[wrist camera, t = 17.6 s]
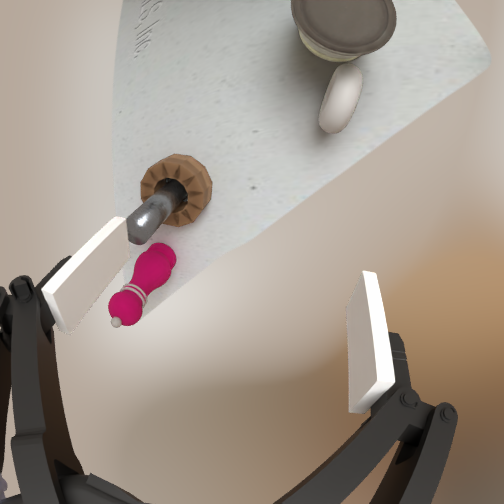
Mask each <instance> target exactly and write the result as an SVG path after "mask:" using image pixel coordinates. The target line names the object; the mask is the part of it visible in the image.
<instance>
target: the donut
mask: <svg viewBox="0 0 504 504" xmlns="http://www.w3.org/2000/svg"><path fill="white" fill-rule="evenodd" d="M362 84H363V78H362V73H361V71H360V70H359V69H358V68H357V67H356V66H355V65H353V64H350V63H344V64H341V65H340V66H339V67H338V68H337V69H336V70H335V72H334V74H333V76H332V78H331V80H330V83H329V85H328V88H327V90H326V93H325V96H324V99H323V102H322V105H321V109H320V113H319V119H318V120H319V125H320V127H321V128H322V129H323V130H324V131H326V132H328V133H332V134H335V133H339V132H341V131H342V130H343V129H344V128H345V127H346V125H347V124H348V122H349V121H350V119H351V117H352V115H353V113H354V110H355V108H356V106H357V103H358V100H359V97H360V93H361V90H362Z"/></svg>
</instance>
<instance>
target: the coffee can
mask: <svg viewBox="0 0 504 504" xmlns="http://www.w3.org/2000/svg"><path fill="white" fill-rule="evenodd" d="M291 10H292V15H293V18H294V21H295V23H296V25H297V27H298V31H299V35H300V38H301V40H302V42H303V43H304V45H305V46H306V47H307V48H308V50H310V51H311V52H312V53H313V54H314V55H316V56H318V57H320V58H322V59H325V60H328V61H332V62H345V61H350V60H353V59H355V58H357V57H359V56H361V55H365V54H369V53H372V52H374V51H376V50H378V49H380V48H381V47H383V46H384V45H385V44H386V43H387V42H388V41H389V40H390V38H391V37H392V35H393V33H394V30H395V27H396V11H395V7H394V4H393V2H392V0H291Z"/></svg>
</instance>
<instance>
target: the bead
mask: <svg viewBox="0 0 504 504" xmlns="http://www.w3.org/2000/svg"><path fill="white" fill-rule="evenodd" d="M166 178H173V179H176V180H177V181H179V182H180V183H181V184H183V185H184V187H185V189H186V191H187V193H188V201H186V202H184V201H182V202H181V203H180V204H179V205H178V206H177V208H176V209H175V210H174V211H173V212H172V213H171V214H170V215H169V216H168V218H167V219H166V220H165V221H164V222H163V223H162V224H167V225H171V226H176V227H180V226H183V225H186V224H189V223H193V222H194V221H195V219H196V218H197V216H198V215H199V214H200V213H201V211H202V210H203V209H204V207H205V206H206V205H207V203H208V202H209V201H210V199H211V194H212V181H211V178H210V176H209V174H208V172H207V170H206V168H205V166H203V165H202V164H201V163H199V162H198V161H197V160H195V159H194V158H193V157H191V156H187V155H179V154H173V155H171V156H169V157H167V158H165V159H162V160H160V161H159V162H157V163H156V164H154V165H153V166H151V167H150V168H148V170H147V172H146V173H145V175H144V177H143V179H142V181H141V199H142V201H143V203H144V202H145V201H146V200H147V199H149V198H150V197H151V196H152V195H153V194H154V193H155V192H157V191H158V190H159V189H160V188H161V187H162V186H164V185H165V184H166Z"/></svg>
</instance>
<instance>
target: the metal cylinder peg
mask: <svg viewBox="0 0 504 504" xmlns="http://www.w3.org/2000/svg"><path fill="white" fill-rule="evenodd" d="M187 196H188V193H187V191H186V189H185V187H184V185H183V184H181V183H180V182H179V181H177V180H176V179H173V178H172V179H171V180H169V181H168V182H167V183H166V184H165V185H164V186H162V187H161V188H160V189H159V190H158V191H157V192H155V193H154V194H153V195H152V196H151V197H150V198H149V199H147V200H146V201H145V202H144V203H143V204H142V205H141V206H140V207H139V208H138V209H136V210H135V211H134V212H133V213H132V214H131V215H130V216H129V217H128V218H127V219H126V223H127V233H128V240H129V241H130V242H131V243H133V244H136V245H142V244H144V243H146V242H147V240H148V239H149V238H150V237H151V236H152V235H153V233H154V232H155V231H156V230H157V229H158V228H159V227H160V225H161V224H162V223H163V222H164V221H165V220H166V219H167V218H168V216H169V215H170V214H171V213H172V212H173V211H174V210H175V209H176V208H177V206H178V205H179V204H180V203H181V202H182V201H183V200H184V199H185V198H186V197H187Z"/></svg>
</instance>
